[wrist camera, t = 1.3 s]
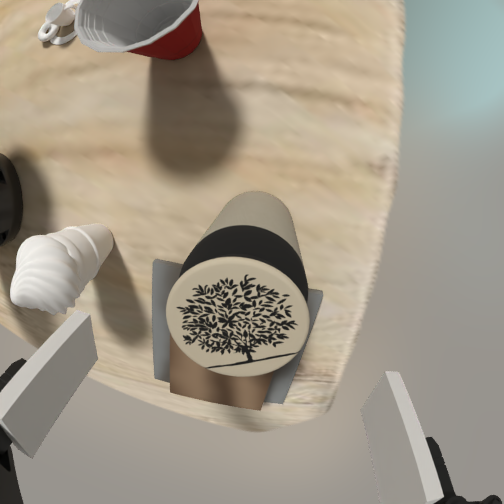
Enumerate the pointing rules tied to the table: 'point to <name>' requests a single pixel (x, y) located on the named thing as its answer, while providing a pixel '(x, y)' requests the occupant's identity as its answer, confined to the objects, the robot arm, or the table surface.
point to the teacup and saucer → (58, 22)
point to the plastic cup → (140, 26)
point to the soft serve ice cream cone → (59, 266)
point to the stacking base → (163, 332)
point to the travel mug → (242, 291)
